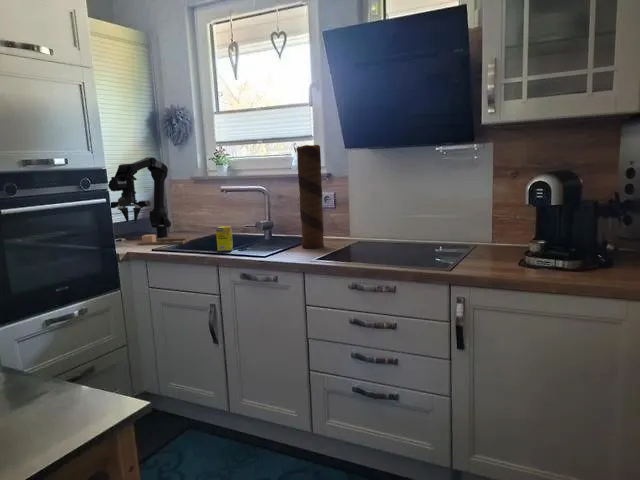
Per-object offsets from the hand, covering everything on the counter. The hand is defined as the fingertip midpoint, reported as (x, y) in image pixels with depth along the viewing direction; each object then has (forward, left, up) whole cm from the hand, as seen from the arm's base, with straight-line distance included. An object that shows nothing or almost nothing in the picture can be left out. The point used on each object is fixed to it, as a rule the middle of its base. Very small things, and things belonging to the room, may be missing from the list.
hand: (131, 221), depth 255 cm
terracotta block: (0, +8, -11) cm, 14 cm away
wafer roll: (+19, +90, -12) cm, 93 cm away
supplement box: (+23, +51, -12) cm, 58 cm away
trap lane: (0, +15, -12) cm, 20 cm away
